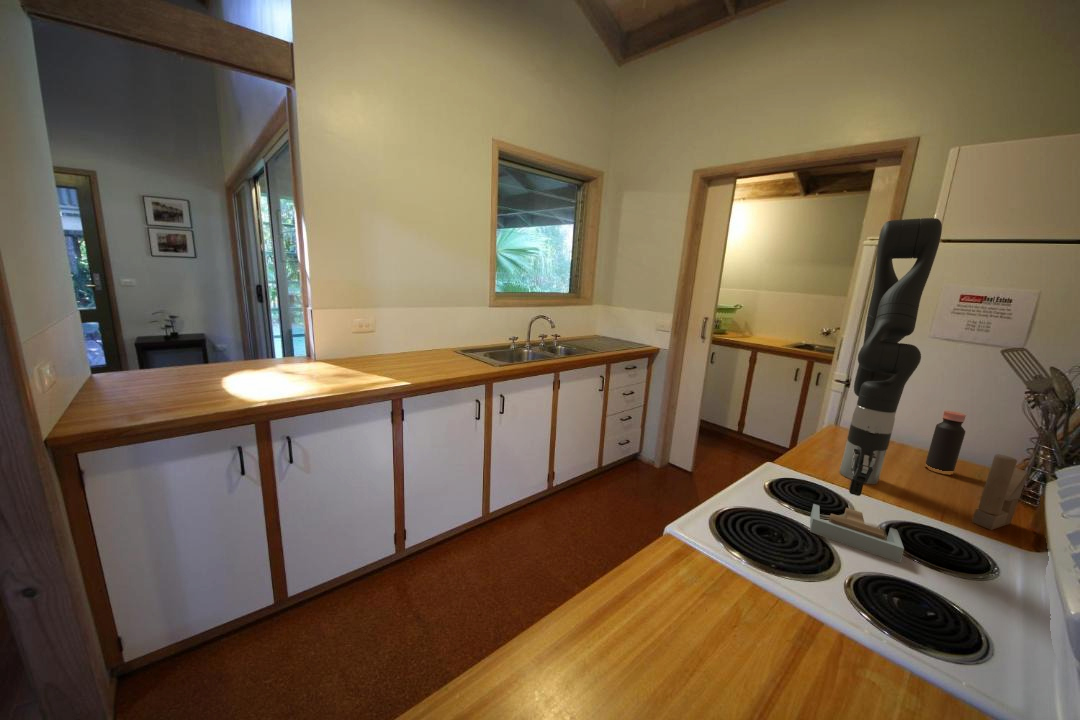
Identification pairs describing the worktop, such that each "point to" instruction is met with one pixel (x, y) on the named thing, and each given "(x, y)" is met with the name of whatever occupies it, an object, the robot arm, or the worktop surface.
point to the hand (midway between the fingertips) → (854, 493)
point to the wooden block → (1000, 493)
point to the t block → (856, 523)
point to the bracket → (858, 537)
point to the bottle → (946, 442)
